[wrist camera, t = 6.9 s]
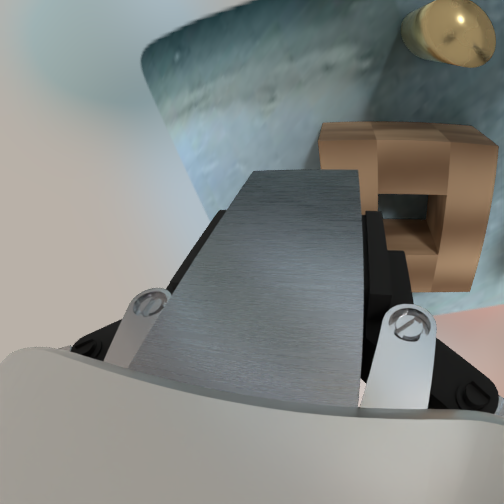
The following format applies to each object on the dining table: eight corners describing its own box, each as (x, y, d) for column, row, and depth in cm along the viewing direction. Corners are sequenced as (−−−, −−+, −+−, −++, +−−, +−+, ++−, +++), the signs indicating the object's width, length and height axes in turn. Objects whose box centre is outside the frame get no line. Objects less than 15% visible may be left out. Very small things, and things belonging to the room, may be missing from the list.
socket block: (322, 122, 26) (317, 141, 21) (471, 125, 22) (498, 146, 17) (333, 253, 34) (328, 291, 29) (456, 254, 29) (469, 291, 25)
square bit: (253, 171, 12) (102, 410, 5) (358, 169, 11) (349, 467, 3) (266, 254, 14) (178, 476, 7) (356, 257, 13) (330, 506, 6)
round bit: (397, 8, 18) (421, -9, 11) (447, 13, 16) (490, 2, 10) (404, 58, 20) (432, 63, 14) (453, 62, 19) (498, 72, 12)
